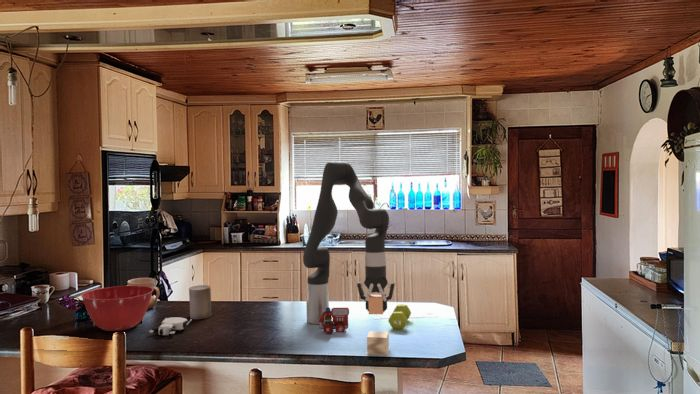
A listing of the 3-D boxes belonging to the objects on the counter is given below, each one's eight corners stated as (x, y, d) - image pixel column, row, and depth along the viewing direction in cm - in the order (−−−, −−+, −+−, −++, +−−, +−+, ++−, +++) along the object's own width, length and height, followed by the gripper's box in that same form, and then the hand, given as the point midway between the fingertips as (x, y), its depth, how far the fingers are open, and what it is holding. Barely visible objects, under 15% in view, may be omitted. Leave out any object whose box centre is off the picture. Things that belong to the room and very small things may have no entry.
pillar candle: (215, 314, 251) (214, 282, 250) (205, 319, 241) (204, 286, 240) (195, 313, 252) (194, 282, 252) (185, 319, 243) (184, 286, 242)
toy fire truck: (320, 329, 225) (320, 304, 224) (350, 329, 224) (349, 305, 223) (318, 334, 218) (318, 309, 217) (348, 334, 217) (348, 309, 216)
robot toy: (174, 340, 215) (193, 327, 230) (173, 329, 215) (192, 316, 229) (147, 338, 218) (167, 325, 232) (146, 328, 217) (166, 315, 232)
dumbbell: (406, 331, 221) (406, 313, 221) (387, 329, 223) (387, 312, 223) (411, 320, 237) (411, 304, 237) (393, 319, 239) (393, 303, 239)
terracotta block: (368, 314, 192) (368, 297, 192) (370, 310, 197) (370, 294, 196) (382, 314, 191) (382, 297, 191) (384, 311, 196) (383, 294, 196)
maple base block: (367, 353, 191) (367, 337, 190) (369, 347, 198) (369, 331, 197) (386, 354, 190) (386, 337, 189) (388, 348, 196) (388, 331, 196)
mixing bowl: (111, 316, 249) (110, 283, 248) (166, 319, 243) (165, 285, 242) (67, 334, 221) (66, 297, 220) (129, 338, 215) (127, 300, 214)
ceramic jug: (116, 311, 258) (116, 282, 257) (135, 303, 272) (134, 276, 271) (150, 314, 254) (149, 284, 253) (167, 306, 268) (166, 278, 267)
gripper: (354, 265, 191) (355, 313, 191) (394, 265, 188) (395, 313, 189) (357, 262, 198) (358, 308, 199) (396, 262, 196) (397, 308, 196)
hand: (376, 310), depth 194 cm, fingers closed on terracotta block, 5 cm apart
